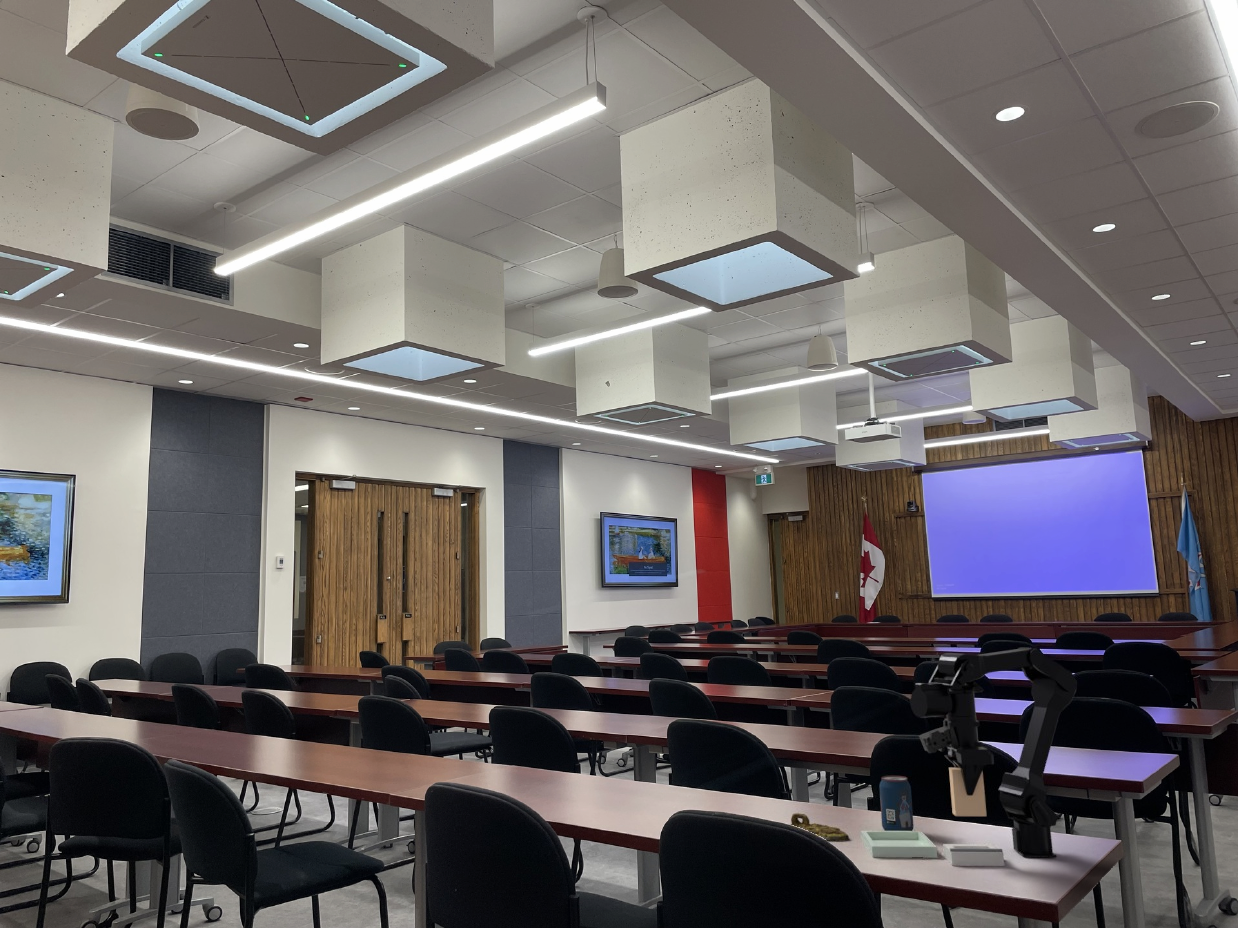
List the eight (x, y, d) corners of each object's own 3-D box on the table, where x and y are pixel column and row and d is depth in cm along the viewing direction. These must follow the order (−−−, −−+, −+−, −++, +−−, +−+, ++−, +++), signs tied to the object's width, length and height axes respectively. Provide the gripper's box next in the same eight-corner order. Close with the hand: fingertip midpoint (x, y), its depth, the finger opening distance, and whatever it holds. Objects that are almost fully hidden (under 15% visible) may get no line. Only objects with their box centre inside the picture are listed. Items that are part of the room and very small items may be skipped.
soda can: (890, 827, 202) (886, 773, 204) (918, 831, 198) (914, 776, 200) (877, 833, 197) (873, 778, 199) (906, 837, 193) (902, 781, 195)
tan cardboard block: (982, 813, 176) (978, 767, 178) (986, 816, 174) (982, 769, 176) (952, 813, 177) (948, 767, 179) (955, 815, 175) (952, 769, 176)
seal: (858, 842, 195) (799, 831, 205) (858, 819, 196) (799, 810, 206) (839, 845, 188) (779, 834, 198) (839, 822, 190) (779, 812, 199)
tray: (921, 840, 190) (921, 830, 190) (937, 857, 177) (936, 846, 177) (861, 840, 191) (860, 830, 191) (872, 856, 178) (871, 846, 179)
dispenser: (994, 857, 177) (992, 841, 177) (1004, 865, 171) (1003, 849, 171) (944, 856, 178) (942, 841, 178) (952, 865, 172) (951, 849, 172)
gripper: (910, 710, 189) (916, 784, 186) (932, 720, 171) (939, 803, 168) (963, 709, 188) (969, 784, 185) (991, 720, 169) (998, 803, 167)
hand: (967, 793), depth 176 cm, fingers closed on tan cardboard block, 2 cm apart
